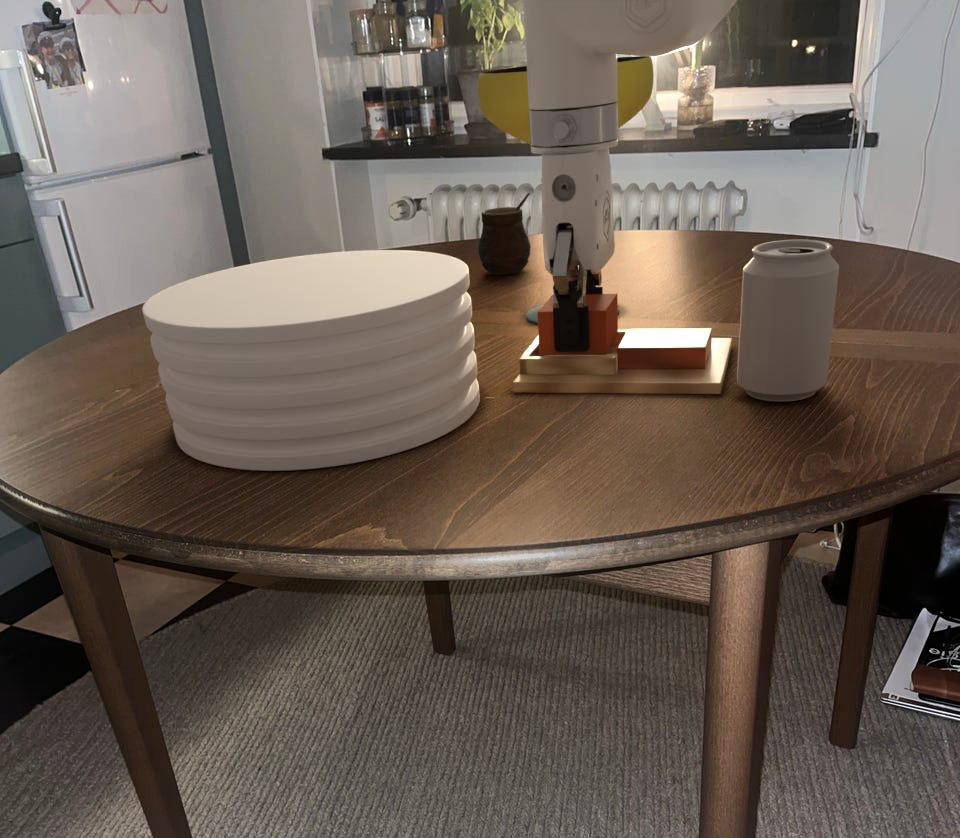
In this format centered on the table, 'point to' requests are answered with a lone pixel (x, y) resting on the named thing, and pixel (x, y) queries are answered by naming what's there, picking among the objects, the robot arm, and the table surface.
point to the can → (787, 319)
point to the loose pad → (600, 325)
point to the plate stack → (316, 358)
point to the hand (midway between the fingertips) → (579, 338)
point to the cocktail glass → (510, 104)
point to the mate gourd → (504, 240)
